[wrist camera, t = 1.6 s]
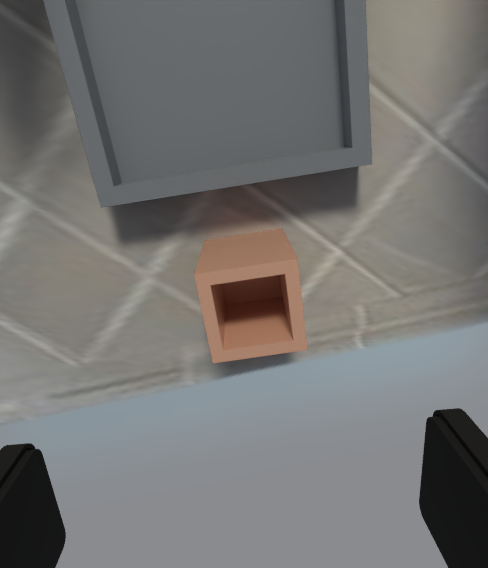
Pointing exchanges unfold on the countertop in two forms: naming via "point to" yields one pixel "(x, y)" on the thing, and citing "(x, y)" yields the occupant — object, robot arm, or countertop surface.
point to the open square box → (250, 296)
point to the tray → (213, 91)
